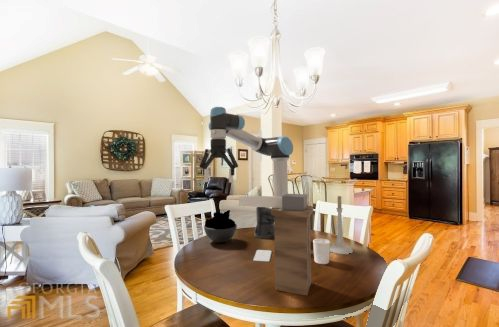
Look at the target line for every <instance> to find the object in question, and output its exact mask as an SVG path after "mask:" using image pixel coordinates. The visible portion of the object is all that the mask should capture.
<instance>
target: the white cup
mask: <svg viewBox="0 0 499 327" xmlns="http://www.w3.org/2000/svg"><path fill="white" fill-rule="evenodd" d="M312 243H313V244H312V246H313V257H314V258H313V259H314V263H316V264H320V265H327V264H329V263H330V253H331V252H330V245H331V241H330V240H329V239H327V238H326V239H325V238H315V239H313V240H312Z"/></svg>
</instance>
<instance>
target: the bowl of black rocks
mask: <svg viewBox="0 0 499 327" xmlns="http://www.w3.org/2000/svg"><path fill="white" fill-rule="evenodd" d="M230 212H231V211H230V209H228V210H226V211H224V212H221V211H220V212H219V211H216V212H213V216H212V217H210V218H207V219H206V220H205V221H204V226H203V229H204V232H205V235H206V236H207V238H209V240H211V241H213V242H214V243H225V242H228V241H230V239H232V238H233V237H234V235H235V233H236V231H237V227H238V225H237V224H236V222H235V221H234V220H233V219H232V218H230V216H231V215H230Z"/></svg>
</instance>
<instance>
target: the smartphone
mask: <svg viewBox="0 0 499 327" xmlns="http://www.w3.org/2000/svg"><path fill="white" fill-rule="evenodd" d="M272 254H273V252H272V250H270V249H256V250H255V254H254V256H253V260H252V261H253V262H259V263H260V262H262V263H270V262H271V257H272Z"/></svg>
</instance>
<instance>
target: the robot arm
mask: <svg viewBox="0 0 499 327" xmlns="http://www.w3.org/2000/svg"><path fill="white" fill-rule="evenodd" d="M209 120H210V121H209V122H208V128H209V131H210V138H211V139H210V149H209V148H205V149H204V154H203V157H202V159H201V162H200V164H199V168H201V169H202V175H203V176H204V178H203V180H204V183H209V177H210V175H209V166H210V165H211V163H212V162H213V161H214V159H223V160H224V162H225V163H226V164H227V165H228V167H229V169H228V183H234V176H235V169H237V168H238V167H239V164H238V162H237V160H236V158H235V156H234V153H233V149H232V148H230V147H228V148H227V137H228V138H229V139H233V140H234V141H237V142H238V143H241V144H243V145H244V146H246V147H249V148H251V150H252V151H253V152H256V153H258V154H261V155H264V156H266V157H267V156H269V157H270V160H272V161H273V164H272V165H273V192H274V193H273V197H282V196H284V195H286V194H289V186H288V184H289V182H288V180H289V179H288V161H289V159H290V155H292V154H293V152H294V145H293V142H292V140H291V139H290V138H289V137H288V136H274V137H268V138H267V137H261V136H257V135H256V136H255V135H254V134H252V133H249V132H247V131H246V130H243V129H244V128H245V125H246V124H245V123H246V120H245V118H244V117H243V116H241V115H239V114H233V113H232V114H231V113H228V112H227V111H226V108H225V107H223V106H214V107H211V108H210V115H209ZM226 153H227V154H228V156H227V154H226ZM272 209H273V208H269V207H256V210H255V211H256V226H255V229H254V232H253V236H254V237H255V238H258V239H263V240H264V239H267V240H268V239H275V235H274V215H271V210H272Z"/></svg>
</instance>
